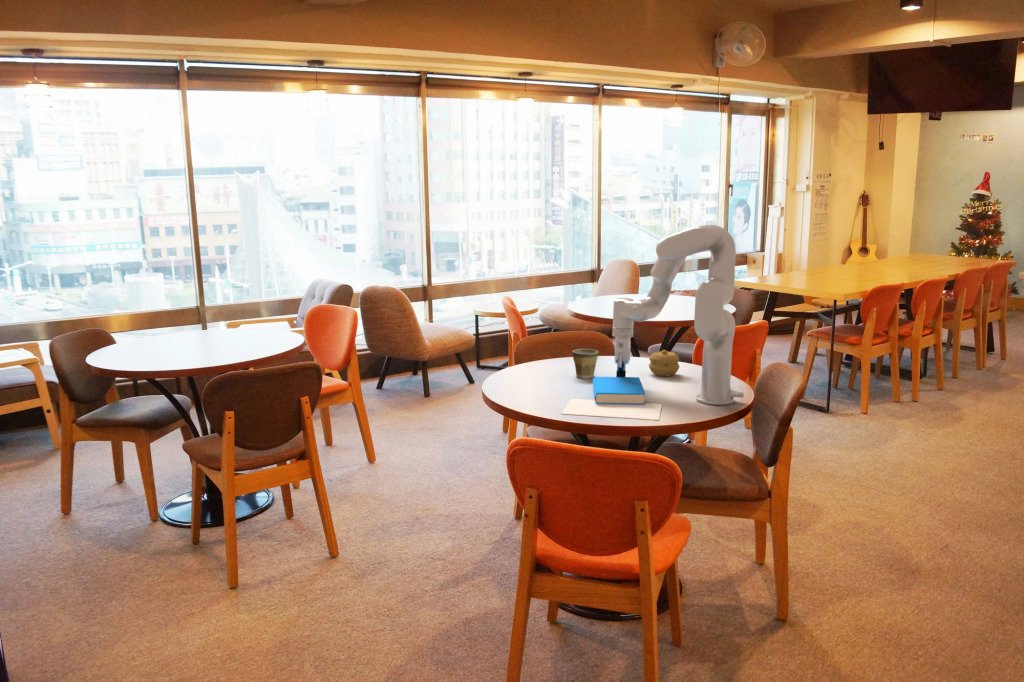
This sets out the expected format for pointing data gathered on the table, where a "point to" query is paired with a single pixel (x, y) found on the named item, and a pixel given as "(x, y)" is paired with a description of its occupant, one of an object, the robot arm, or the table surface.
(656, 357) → the pot
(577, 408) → the mat
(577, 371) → the ceramic cup
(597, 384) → the book
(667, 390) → the table surface
